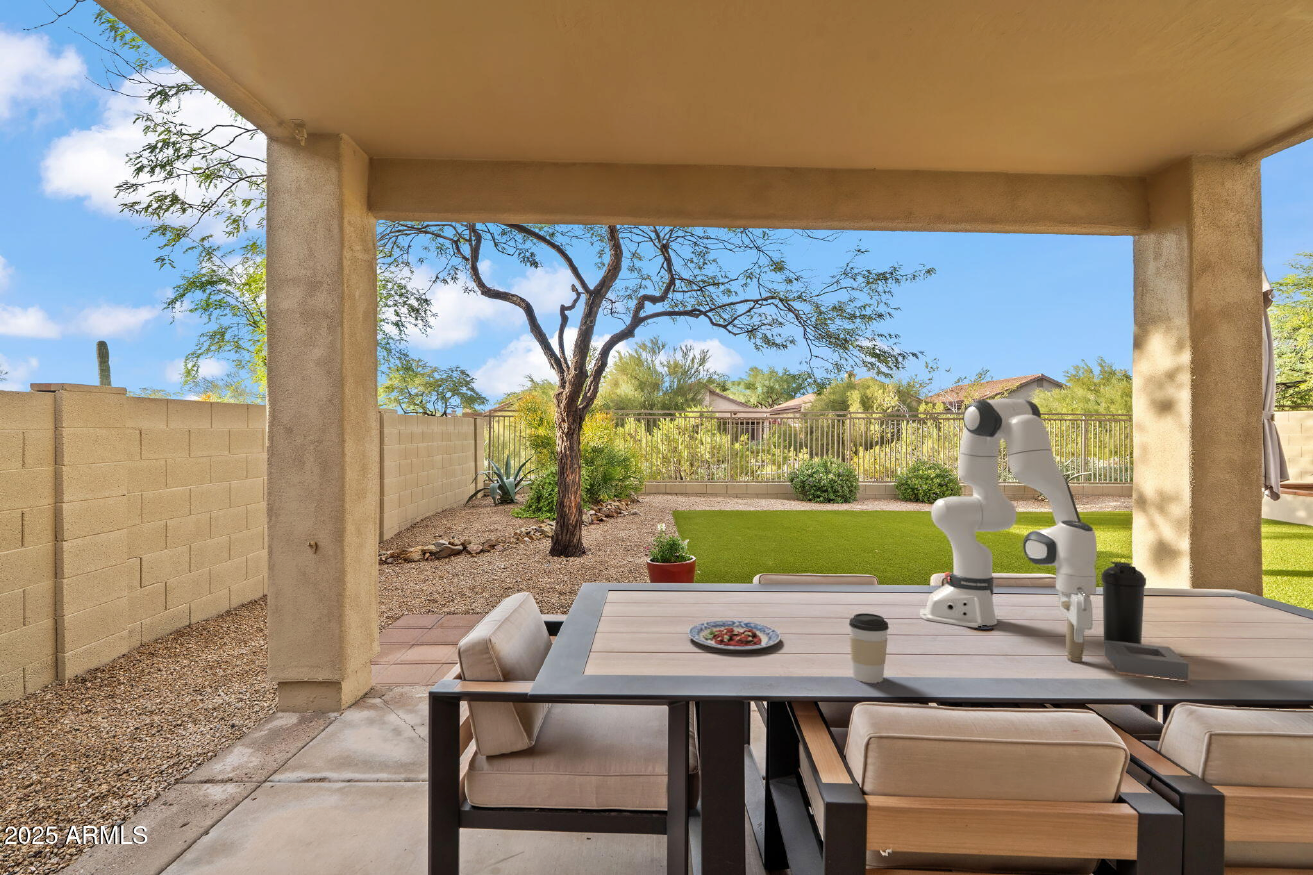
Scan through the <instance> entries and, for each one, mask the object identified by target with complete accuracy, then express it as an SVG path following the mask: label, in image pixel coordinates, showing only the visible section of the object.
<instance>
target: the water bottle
mask: <svg viewBox="0 0 1313 875" xmlns="http://www.w3.org/2000/svg"><path fill="white" fill-rule="evenodd" d="M1110 564H1113V566H1109V567H1107V568H1105V569H1104V570H1103V572H1101V574H1100V575H1101V577H1100V578H1101V579H1100V580H1101V582H1102V609H1103V610H1102V611H1103V613H1102V615H1103V617H1102V620H1103V623H1102V624H1103V645H1104V646H1105V640H1108V641H1117V642H1126V643H1135V644H1142V638H1143V637H1142V636H1143V620H1144V619H1143V617H1144V598H1145V587H1146V585H1147V578H1146V577H1145V575H1144V574H1143V573H1142V572H1141V571H1140V570H1138V569H1137V568H1136V566H1132V565H1131V563H1130V562H1121V561H1120V562H1119V561H1118V562H1117V561H1111V562H1110Z"/></svg>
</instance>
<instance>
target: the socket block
mask: <svg viewBox="0 0 1313 875" xmlns="http://www.w3.org/2000/svg"><path fill="white" fill-rule="evenodd" d="M1103 649H1104V654H1103V655H1104V659H1105V660H1106V661H1107V660H1108V661H1109V662H1108V661H1107V662H1108V664H1110V666H1111V665H1112V666H1113V667H1114V668H1113V667H1112V666H1111V667H1112V668H1113V669H1114V671H1115V672H1116V671H1117V672H1118V673H1121V674H1120V675H1125V674H1130V675H1129V676H1133V675H1138V676H1137V677H1141V676H1153V677H1160V678H1169V679H1177V680H1184V681H1188V682H1189V662H1187V661H1186V660H1185V659H1184V658H1182V657H1181V656H1180V655H1179V654H1178V653H1177V652H1175V651H1174V649H1172V648H1171V647H1169V646H1161V645H1153V644H1145V643H1143V644H1142V643H1141V644H1135V643H1126V642H1117V641H1108V640H1105V645H1104V648H1103ZM1117 672H1116V673H1117ZM1118 673H1117V674H1118Z"/></svg>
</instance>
